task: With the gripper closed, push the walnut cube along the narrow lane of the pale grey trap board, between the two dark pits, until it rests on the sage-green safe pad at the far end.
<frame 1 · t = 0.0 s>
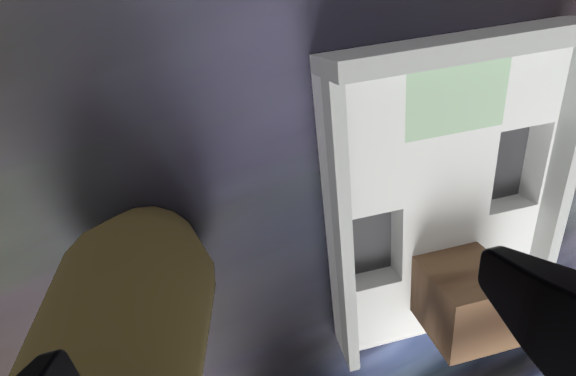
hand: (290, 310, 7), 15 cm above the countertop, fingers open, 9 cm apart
trap board: (431, 199, 25), on the countertop
squeeze bottle: (152, 243, 23), on the countertop
block: (442, 276, 26), point 2 cm above the countertop, touching trap board
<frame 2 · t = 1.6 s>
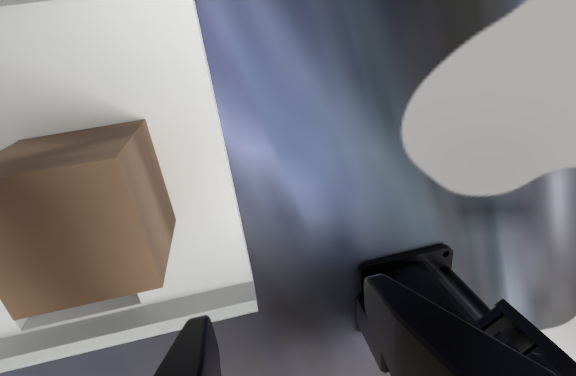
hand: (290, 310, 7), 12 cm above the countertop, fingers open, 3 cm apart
block: (104, 183, 16), point 2 cm above the countertop, touching trap board
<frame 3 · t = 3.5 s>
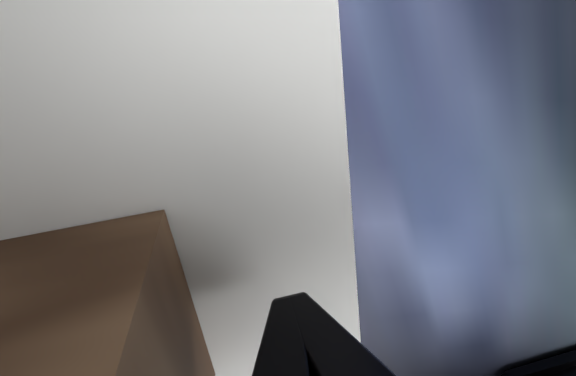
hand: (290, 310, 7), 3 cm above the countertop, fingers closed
block: (82, 326, 8), point 2 cm above the countertop, touching gripper
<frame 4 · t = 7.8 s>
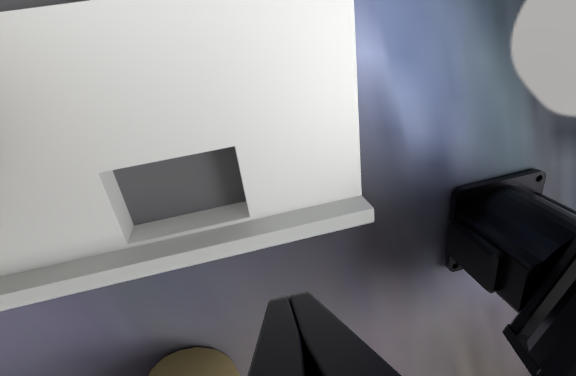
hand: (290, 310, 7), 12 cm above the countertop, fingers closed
trap board: (106, 86, 16), on the countertop
squeeze bottle: (193, 373, 24), on the countertop
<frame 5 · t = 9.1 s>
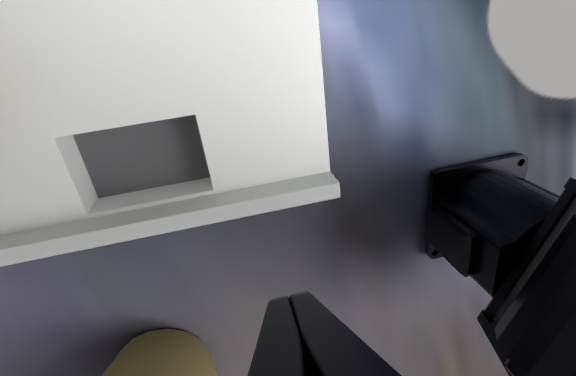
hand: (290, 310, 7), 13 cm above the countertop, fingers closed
trap board: (66, 52, 15), on the countertop
squeeze bottle: (165, 356, 24), on the countertop
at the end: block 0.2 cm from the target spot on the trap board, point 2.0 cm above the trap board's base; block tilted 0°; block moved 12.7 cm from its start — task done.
